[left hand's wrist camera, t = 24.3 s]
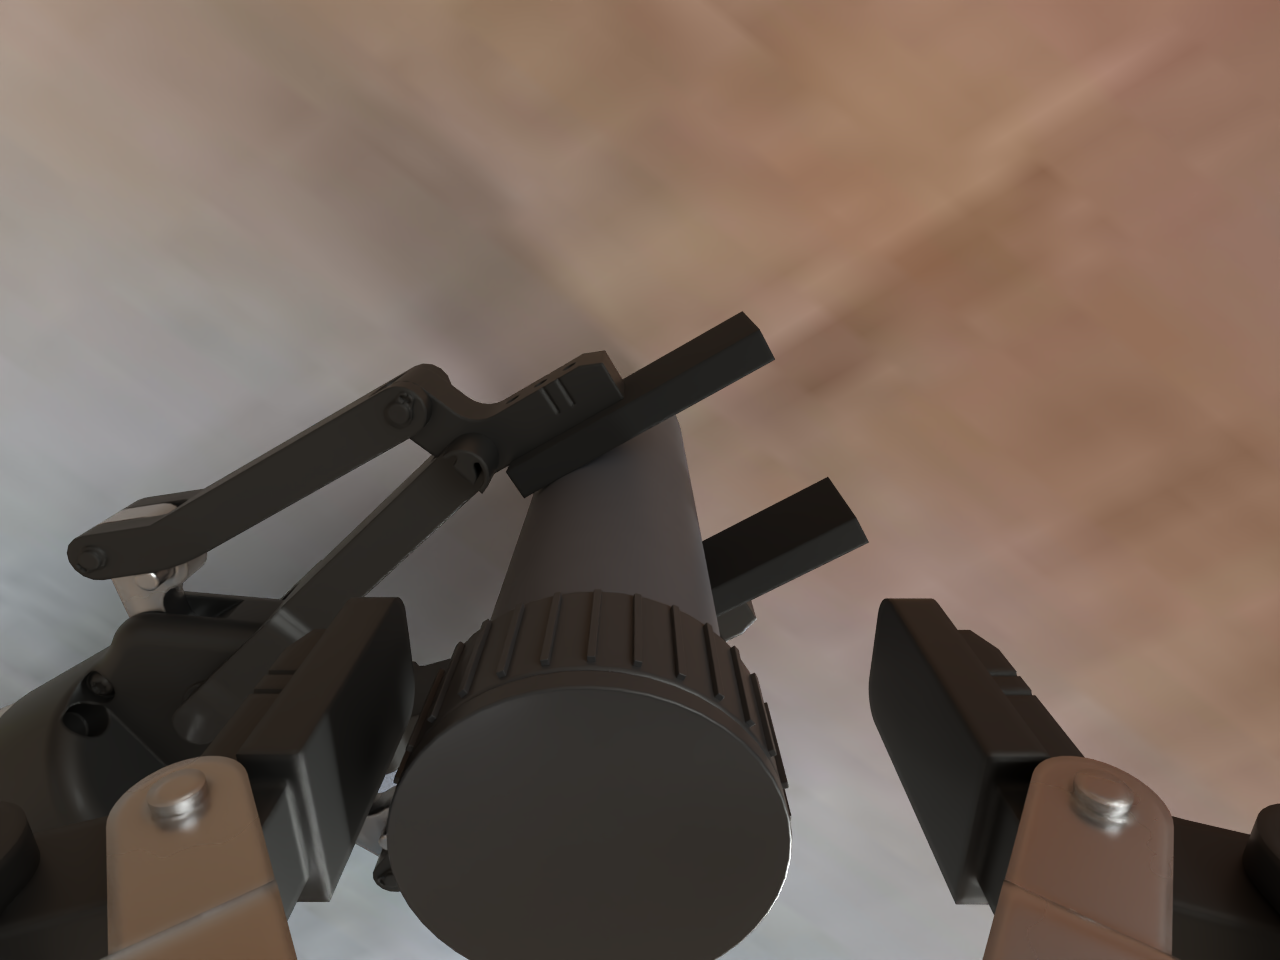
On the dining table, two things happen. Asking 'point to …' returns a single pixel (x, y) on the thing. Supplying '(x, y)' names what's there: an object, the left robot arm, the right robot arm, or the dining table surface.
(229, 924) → the left robot arm
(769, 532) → the right robot arm
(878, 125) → the dining table surface
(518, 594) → the jar
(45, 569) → the dining table surface
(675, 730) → the lid
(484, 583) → the dining table surface
